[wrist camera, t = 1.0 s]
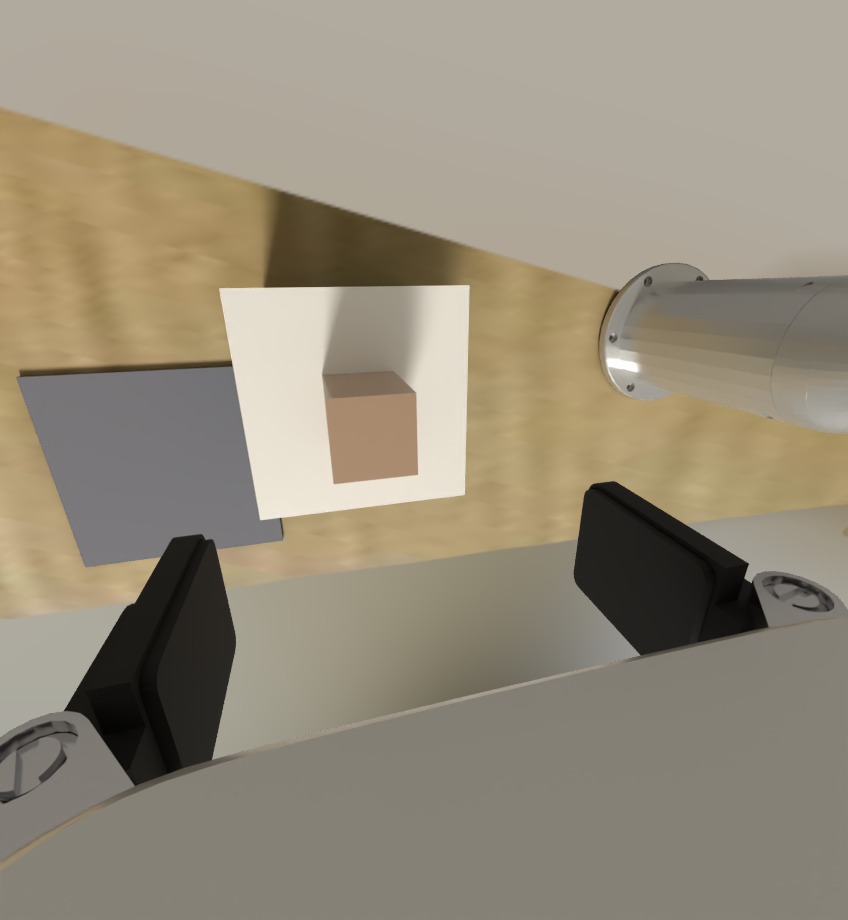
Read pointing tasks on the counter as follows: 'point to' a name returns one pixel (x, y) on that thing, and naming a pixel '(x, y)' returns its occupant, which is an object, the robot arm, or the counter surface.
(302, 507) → the lid
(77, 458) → the mat
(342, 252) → the counter surface
